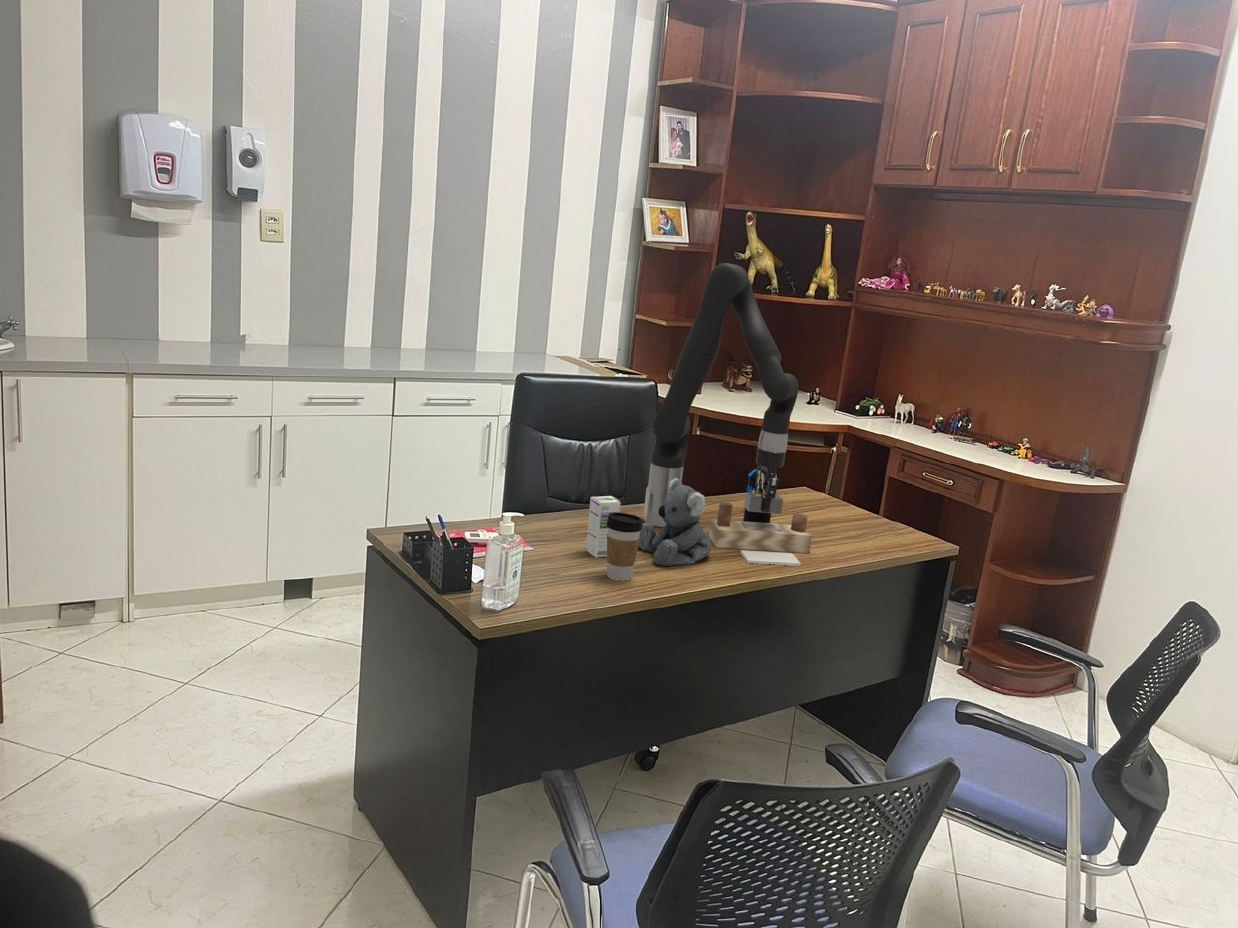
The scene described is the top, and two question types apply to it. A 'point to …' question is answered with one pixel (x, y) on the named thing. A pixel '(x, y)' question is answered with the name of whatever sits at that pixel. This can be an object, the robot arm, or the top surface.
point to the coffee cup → (622, 544)
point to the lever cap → (755, 503)
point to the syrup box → (600, 524)
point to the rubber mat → (770, 558)
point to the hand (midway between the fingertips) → (762, 508)
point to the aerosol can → (755, 516)
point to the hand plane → (759, 533)
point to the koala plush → (678, 528)
